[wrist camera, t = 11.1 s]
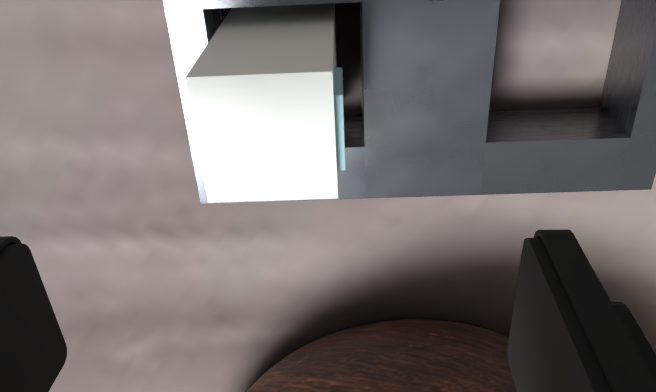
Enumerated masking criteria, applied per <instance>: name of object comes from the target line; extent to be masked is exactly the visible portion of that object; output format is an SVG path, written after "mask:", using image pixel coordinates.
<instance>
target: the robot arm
mask: <svg viewBox="0 0 656 392" xmlns="http://www.w3.org/2000/svg"><path fill="white" fill-rule="evenodd" d="M66 356H67V347H66V343H65V341H64V338H63V335H62V333H61V330H60V327H59V325H58V322H57V320H56V317H55V314H54V312H53V309H52V306H51V304H50V301H49V298H48V296H47V293H46V291H45V288H44V285H43V283H42V280H41V277H40V275H39V272H38V269H37V267H36V264H35V262H34V259H33V256H32V254H31V251H30V249H29V247H28V246H27V245H25V244H22V243H21V241H20V240H19V239H18V238H16V237H13V236H11V237H0V392H48V391H49V390H50V388H51V386H52V384H53V383H54V381H55V379H56V377H57V376H58V374H59V372H60V370H61V369H62V367H63V365H64V363H65V360H66ZM508 361H509V366H510V369H511V373H512V376H513V380H514V383H515V387H516V390H517V392H656V355H655V353H654V351H653V349H652V348H651V346H650V344H649V343H648V341H647V339H646V337H645V336H644V334H643V332H642V331H641V329H640V327H639V325H638V324H637V322H636V320H635V319H634V317H633V315H632V313H631V312H630V310H629V309H628V308H627V307H626V305H624V304H623V303H621V302H611V301H610V299H609V298H608V296H607V294H606V292H605V290H604V289H603V287H602V285H601V283H600V281H599V279H598V278H597V276H596V274H595V272H594V270H593V269H592V267H591V265H590V263H589V261H588V260H587V258H586V256H585V254H584V252H583V251H582V249H581V247H580V245H579V243H578V242H577V240H576V238H575V236H574V234H573V233H572V232H571V231H570V230H537V231H536V232H535V234H534V238H526V239H525V240H524V243H523V249H522V255H521V262H520V268H519V275H518V282H517V288H516V295H515V301H514V308H513V314H512V321H511V328H510V334H509V341H508Z"/></svg>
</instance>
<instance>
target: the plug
mask: <svg viewBox="0 0 656 392" xmlns="http://www.w3.org/2000/svg"><path fill="white" fill-rule="evenodd" d="M185 78H186V84H187V89H188V95H189V100H190V106H191V111H192V117H193V123H194V128H195V134H196V139H197V145H198V150H199V156H200V161H201V167H202V173H203V178H204V184H205V189H206V195H207V200H208V203H213V202H245V201H276V200H307V199H338V171H343V170H345V128H344V100H343V72H342V67H338V68H337V51H336V26H335V3H330V4H307V5H285V6H262V7H239V8H231V10H230V11H229V13H228V14H227V16H226V17H225V19H224V20H223V22H222V23H221V25H220V26H219V28H218V29H217V31H216V32H215V34H214V35H213V37H212V38H211V40H210V41H209V43H208V44H207V46H206V47H205V49H204V50H203V52H202V53H201V55H200V56H199V58H198V59H197V61H196V62H195V64H194V65H193V67H192V68H191V70H190V71H189V73H188V74H187V76H186V77H185Z"/></svg>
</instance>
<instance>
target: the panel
mask: <svg viewBox="0 0 656 392" xmlns="http://www.w3.org/2000/svg"><path fill="white" fill-rule="evenodd" d="M352 2H360V38H361V93H362V116H346V117H344V128H345V170H343V171H338V199H359V198H390V197H422V196H454V195H486V194H518V193H550V192H582V191H613V190H645V189H651V188H652V184H653V181H654V177H655V173H656V0H622V2H621V7H620V12H619V17H618V22H617V26H616V31H615V36H614V41H613V46H612V51H611V56H610V60H609V65H608V70H607V75H606V80H605V85H604V89H603V94H602V99H601V104H600V107H590V108H563V109H536V110H509V111H489V105H490V96H491V86H492V76H493V66H494V56H495V47H496V37H497V27H498V17H499V7H500V0H163V4H164V9H165V14H166V20H167V25H168V30H169V36H170V41H171V46H172V52H173V57H174V62H175V68H176V73H177V78H178V84H179V89H180V95H181V100H182V105H183V111H184V116H185V121H186V127H187V132H188V137H189V143H190V148H191V153H192V159H193V164H194V170H195V175H196V180H197V186H198V191H199V196H200V202H201V203H208V200H207V195H206V189H205V184H204V178H203V173H202V167H201V161H200V156H199V150H198V145H197V139H196V134H195V128H194V123H193V117H192V111H191V106H190V100H189V95H188V89H187V84H186V78H185V77H186V76H187V74H188V73H189V71H190V70H191V68H192V67H193V65H194V64H195V62H196V61H197V59H198V58H199V56H200V55H201V53H202V52H203V50H204V49H205V47H206V46H207V44H208V43H209V41H210V40H211V38H212V37H213V35H214V34H215V32H216V31H217V29H218V28H219V26H220V25H221V23H222V22H223V20H222V12H221V8H239V7H262V6H285V5H307V4H330V3H352ZM307 200H327V199H307ZM276 201H295V200H276ZM245 202H263V201H245ZM213 203H231V202H213Z"/></svg>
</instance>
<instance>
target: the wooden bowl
mask: <svg viewBox="0 0 656 392" xmlns="http://www.w3.org/2000/svg"><path fill="white" fill-rule="evenodd" d="M508 341H509V337H507V336H505V335H502V334H500V333H497V332H494V331H491V330H488V329H485V328H481V327H477V326H473V325H468V324H464V323H457V322H450V321H442V320H427V319H406V320H393V321H383V322H376V323H370V324H365V325H360V326H356V327H352V328H348V329H345V330H341V331H338V332H335V333H332V334H329V335H327V336H324V337H322V338H319V339H317V340H314V341H312V342H310V343H308V344H306V345H304V346H302V347H300V348H299V349H297V350H295V351H294V352H292V353H291V354H289V355H287V356H286V357H285V358H283V359H282V360H281V361H279V362H278V363H277V364H275V365H274V366H273V367H272V368H270V369H269V370H268V371H267V372H266V373H264V374H263V375H262V376H261V377H260V378H259V379H258V380H257V381H256V382H255V383H254V384H253V385H252V386H251V387H250V388H249V389H248V390H247V392H517V390H516V387H515V383H514V380H513V376H512V373H511V369H510V366H509V361H508Z"/></svg>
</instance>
